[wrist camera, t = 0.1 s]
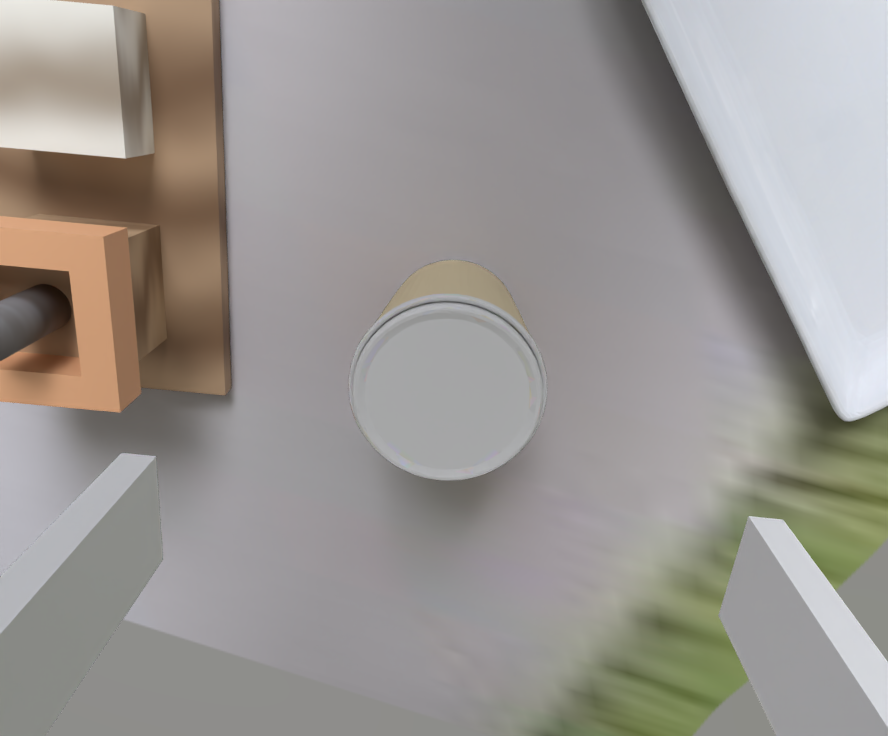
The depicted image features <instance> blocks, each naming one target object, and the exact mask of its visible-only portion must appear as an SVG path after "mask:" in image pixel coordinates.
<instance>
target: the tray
mask: <svg viewBox="0 0 888 736" xmlns="http://www.w3.org/2000/svg"><path fill="white" fill-rule="evenodd" d="M641 2H642V4H643V6H644V8H645V10H646V12H647V15H648V17H649V19H650V21H651V23H652V26H653V28H654V30H655V32H656V34H657V37H658V39H659V41H660V43H661V45H662V48H663V50H664V52H665V54H666V56H667V59H668V61H669V63H670V65H671V67H672V69H673V72H674V74H675V76H676V78H677V80H678V82H679V85H680V87H681V89H682V91H683V93H684V95H685V97H686V100H687V102H688V104H689V106H690V108H691V111H692V113H693V115H694V117H695V120H696V122H697V124H698V126H699V129H700V131H701V133H702V135H703V137H704V139H705V142H706V144H707V146H708V148H709V150H710V153H711V155H712V157H713V159H714V161H715V163H716V166H717V168H718V170H719V172H720V174H721V176H722V178H723V181H724V183H725V185H726V187H727V189H728V191H729V193H730V195H731V197H732V199H733V201H734V203H735V206H736V208H737V210H738V212H739V214H740V216H741V218H742V220H743V222H744V224H745V226H746V228H747V230H748V233H749V235H750V237H751V239H752V241H753V243H754V245H755V247H756V249H757V251H758V254H759V256H760V258H761V260H762V262H763V264H764V266H765V268H766V270H767V272H768V274H769V276H770V278H771V280H772V282H773V284H774V286H775V288H776V290H777V292H778V294H779V296H780V299H781V301H782V303H783V305H784V307H785V309H786V311H787V313H788V315H789V317H790V319H791V321H792V323H793V326H794V328H795V330H796V332H797V334H798V336H799V338H800V340H801V342H802V344H803V347H804V349H805V351H806V353H807V355H808V357H809V359H810V362H811V364H812V366H813V368H814V370H815V372H816V374H817V376H818V379H819V381H820V383H821V385H822V387H823V389H824V391H825V394H826V396H827V398H828V400H829V402H830V404H831V406H832V408H833V410H834V411H835V413H836V414H837V415H838V417H839V418H841V419H842V420H844V421H855V420H857V419H860V418H863V417H866V416H868V415H870V414H872V413H874V412H876V411H879V410H881V409H883V408H884V407H886V406H888V0H641Z"/></svg>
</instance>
